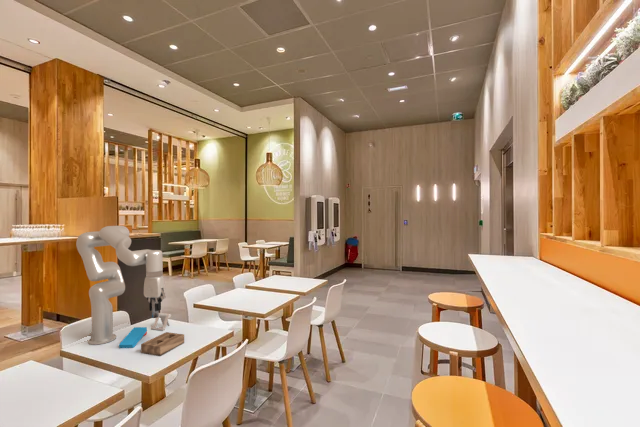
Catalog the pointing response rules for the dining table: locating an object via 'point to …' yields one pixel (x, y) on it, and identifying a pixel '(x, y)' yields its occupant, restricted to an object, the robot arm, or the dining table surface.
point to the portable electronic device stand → (164, 320)
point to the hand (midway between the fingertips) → (155, 309)
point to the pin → (154, 313)
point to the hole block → (162, 344)
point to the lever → (133, 337)
